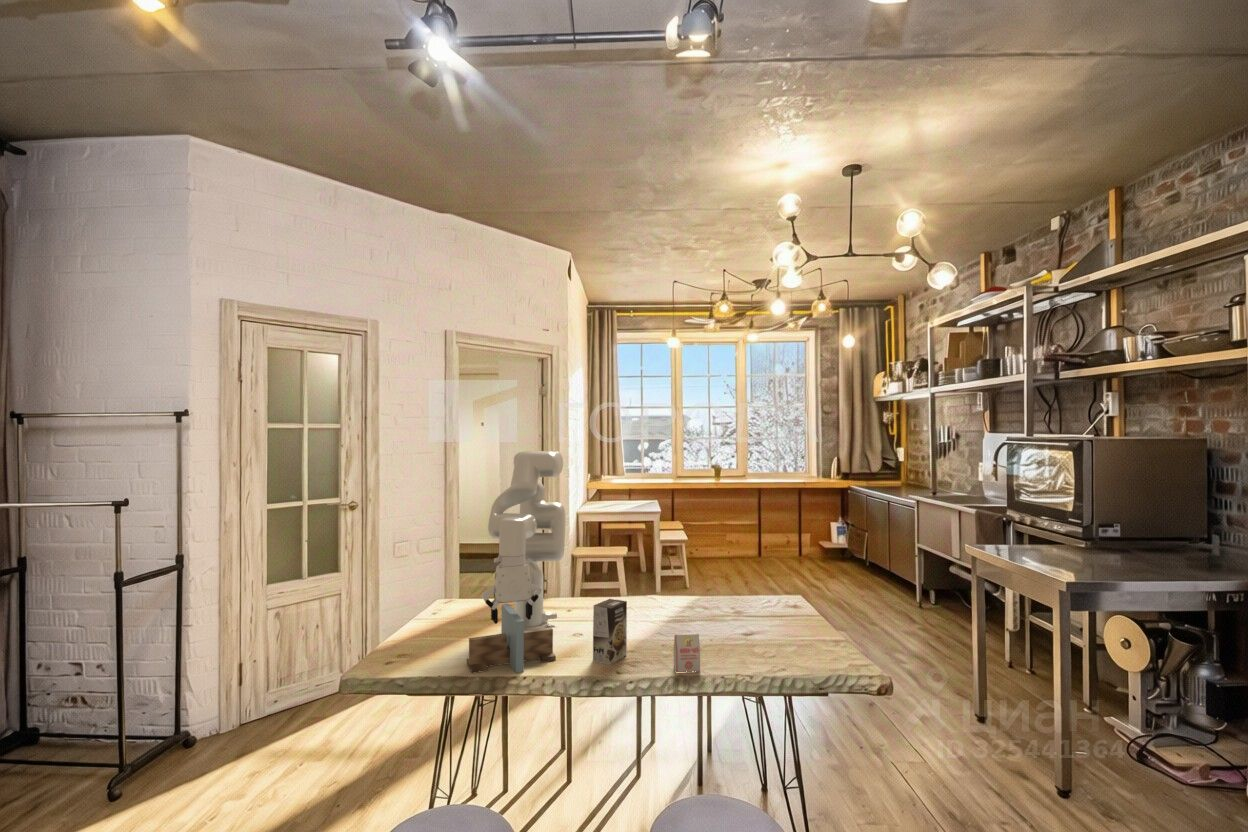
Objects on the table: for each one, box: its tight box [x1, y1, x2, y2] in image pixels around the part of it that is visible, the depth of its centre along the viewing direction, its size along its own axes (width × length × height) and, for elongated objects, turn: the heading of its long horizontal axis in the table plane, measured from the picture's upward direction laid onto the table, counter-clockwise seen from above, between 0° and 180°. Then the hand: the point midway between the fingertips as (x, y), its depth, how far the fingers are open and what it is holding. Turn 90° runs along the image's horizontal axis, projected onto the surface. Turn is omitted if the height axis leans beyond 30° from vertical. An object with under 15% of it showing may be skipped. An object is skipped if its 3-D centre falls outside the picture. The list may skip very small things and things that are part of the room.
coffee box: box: [592, 598, 628, 666], centre depth 179 cm, size 9×6×16 cm
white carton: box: [673, 633, 701, 673], centre depth 170 cm, size 4×7×10 cm, turn 95°
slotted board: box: [466, 626, 557, 674], centre depth 176 cm, size 24×8×8 cm, turn 114°
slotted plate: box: [500, 603, 524, 674], centre depth 176 cm, size 18×2×14 cm, turn 24°
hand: (511, 620), depth 176 cm, fingers open, 9 cm apart
